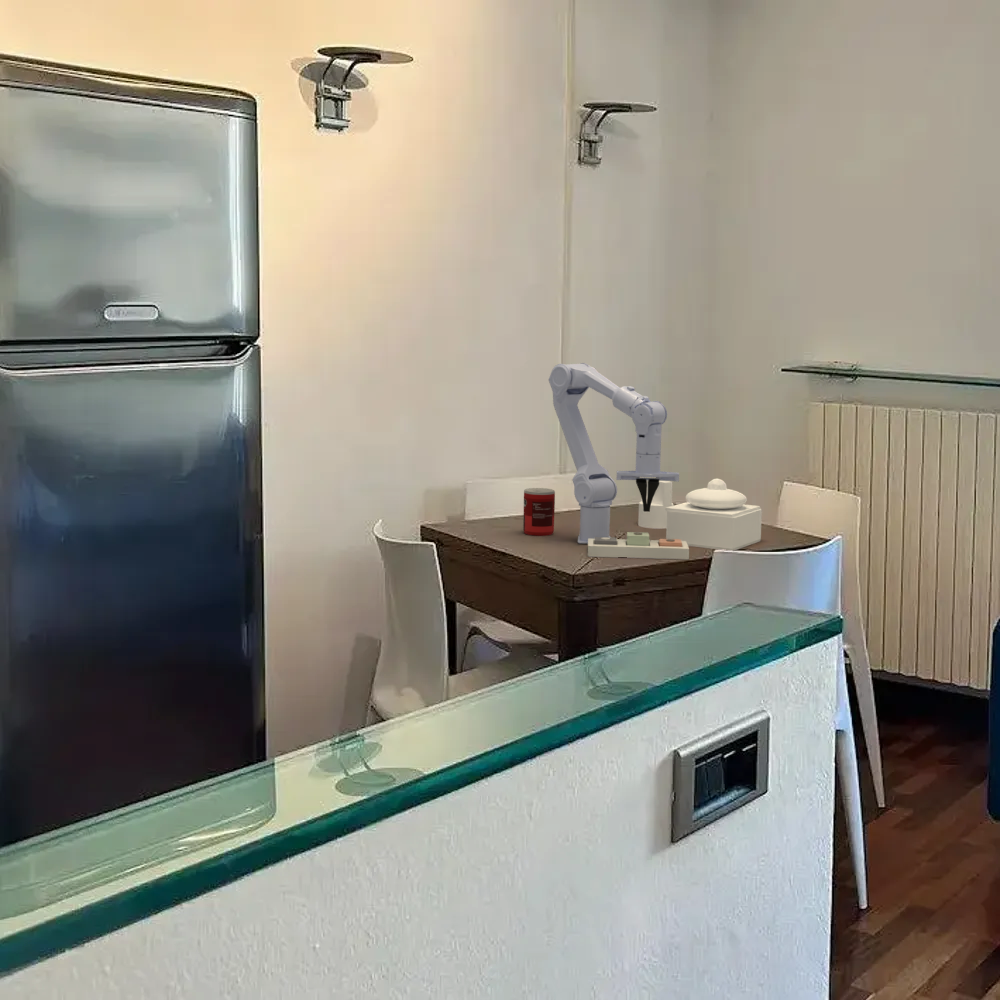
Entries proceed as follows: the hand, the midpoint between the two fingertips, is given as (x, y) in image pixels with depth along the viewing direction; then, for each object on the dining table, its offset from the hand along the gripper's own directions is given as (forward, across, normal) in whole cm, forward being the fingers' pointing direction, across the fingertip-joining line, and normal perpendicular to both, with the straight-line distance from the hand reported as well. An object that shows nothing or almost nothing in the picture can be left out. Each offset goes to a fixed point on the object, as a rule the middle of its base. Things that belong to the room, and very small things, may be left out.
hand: (646, 511), depth 321 cm
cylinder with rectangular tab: (+10, +4, +37) cm, 38 cm away
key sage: (+8, -2, -5) cm, 10 cm away
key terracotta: (+9, +5, -5) cm, 12 cm away
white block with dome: (+10, +17, +15) cm, 24 cm away
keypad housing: (+9, -2, -5) cm, 11 cm away
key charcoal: (+9, -9, -5) cm, 14 cm away
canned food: (+10, -26, +20) cm, 34 cm away
